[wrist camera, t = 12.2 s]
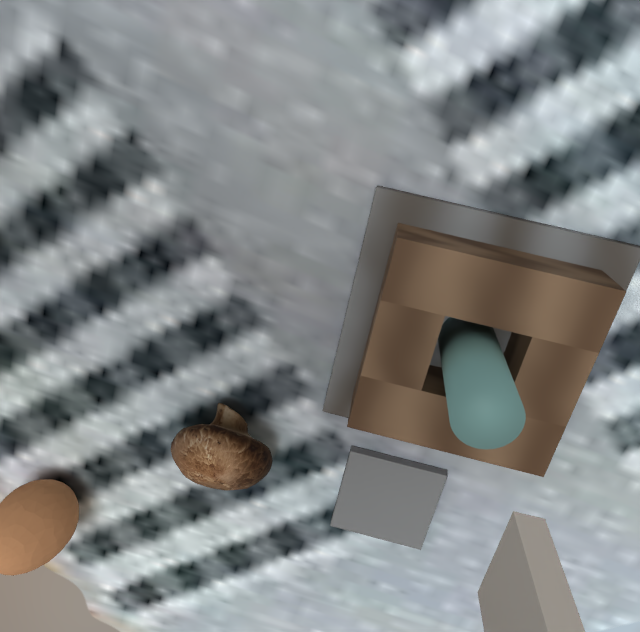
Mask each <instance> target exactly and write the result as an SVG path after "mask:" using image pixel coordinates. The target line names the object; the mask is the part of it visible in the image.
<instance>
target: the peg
mask: <svg viewBox="0 0 640 632" xmlns="http://www.w3.org/2000/svg"><path fill="white" fill-rule="evenodd" d="M438 343H439V350H440V357H441V364H442V371H443V378H444V385H445V393H446V400H447V407H448V414H449V421H450V426H451V429H452V431H453V432H454V434H455V435H456V437H457V438H458V439H459V440H460V441H462V442H463V443H465V444H466V445H468V446H471V447H474V448H477V449H496V448H500V447H503V446H505V445H507V444H509V443H511V442H512V441H513V440H515V439H516V438H517V437H518V436H519V434H520V433H521V431H522V430H523V428H524V425H525V420H526V414H525V409H524V406H523V404H522V401H521V399H520V396H519V393H518V391H517V388H516V386H515V383H514V381H513V378H512V375H511V373H510V370H509V368H508V365H507V362H506V360H505V357H504V355H503V352H502V350H501V347H500V344H499V342H498V339H497V337H496V334H495V331H494V329H493V327H489V326H485V325H481V324H477V323H473V322H468V321H464V320H460V319H456V318H452V317H449V318H448V319H447V320H446V321H445V322H444V323H443V324H442V327H441V330H440V334H439V337H438Z"/></svg>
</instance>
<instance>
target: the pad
mask: <svg viewBox="0 0 640 632" xmlns="http://www.w3.org/2000/svg"><path fill="white" fill-rule="evenodd" d="M446 479H447V470H445V469H441V468H437V467H433V466H429V465H425V464H422V463H418V462H414V461H410V460H406V459H402V458H398V457H394V456H390V455H387V454H383V453H379V452H375V451H371V450H367V449H363V448H359V447H355V446H351V450H350V453H349V457H348V461H347V464H346V468H345V472H344V475H343V479H342V483H341V486H340V490H339V494H338V497H337V501H336V505H335V508H334V512H333V516H332V519H331V525H330V526H333V527H337V528H341V529H345V530H348V531H352V532H356V533H360V534H363V535H367V536H371V537H375V538H378V539H382V540H386V541H390V542H394V543H397V544H401V545H405V546H409V547H412V548H416V549H420V550H421V547H422V545H423V542H424V539H425V536H426V534H427V531H428V528H429V525H430V523H431V520H432V517H433V514H434V512H435V509H436V506H437V503H438V501H439V498H440V495H441V492H442V490H443V487H444V484H445V481H446Z"/></svg>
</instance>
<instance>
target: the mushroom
mask: <svg viewBox="0 0 640 632" xmlns="http://www.w3.org/2000/svg"><path fill="white" fill-rule="evenodd" d="M171 452H172V457H173V459H174V461H175V463H176V465H177V466H178V468H179V469H180V471H181V472H182V473H183V475H184V476H185V477H186V478H188V479H190V480H191V481H193V482H195V483H197V484H200V485H203V486H206V487H210V488H214V489H221V490H238V489H247V488H249V487H251V486H253V485H255V484H256V483H257V482H259V481H260V480H261V479H263V478H264V477H265V476H266V475H267V473H268V472H269V470H270V468H271V465H272V456H271V452H270V450H269V448H268V447H267V446H266V445H264V444H263V443H261V442H260V441H257V440H255V439H253V438H252V437H251V436H250V435H249V434H248V425H247V423H246V422H245V420H244V419H243V418H242V417H241V416H240V415H239V414H238V413H237V412H236V411H234V410H233V409H231V408H230V407H228V406H227V405H224V404H222V403H218V405H217V414H216V417H215V419H214V421H213V422H212V423H211V424H199V425H195V426H191V427H187V428H183V429H182V430H181V431H180V432H179V433H178V434H177V435H176V436H175V438H174V439H173V441H172V444H171Z"/></svg>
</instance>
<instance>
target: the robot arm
mask: <svg viewBox="0 0 640 632" xmlns="http://www.w3.org/2000/svg"><path fill="white" fill-rule="evenodd" d="M478 597H479V603H480V609H481V615H482V621H483V626H484V632H585V630H584V627H583V624H582V622H581V619H580V616H579V613H578V610H577V607H576V605H575V602H574V599H573V596H572V593H571V591H570V588H569V585H568V582H567V579H566V577H565V574H564V571H563V568H562V565H561V563H560V560H559V557H558V554H557V551H556V548H555V546H554V543H553V540H552V537H551V534H550V532H549V529H548V526H547V523H546V520H545V519H543V518H539V517H535V516H530V515H526V514H522V513H518V512H514V511H513V513H512V515H511V518H510V520H509V522H508V525H507V527H506V529H505V531H504V534H503V536H502V538H501V540H500V543H499V545H498V547H497V550H496V552H495V554H494V556H493V559H492V561H491V563H490V565H489V568H488V570H487V572H486V575H485V577H484V579H483V581H482V584H481V586H480V588H479V590H478Z"/></svg>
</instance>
